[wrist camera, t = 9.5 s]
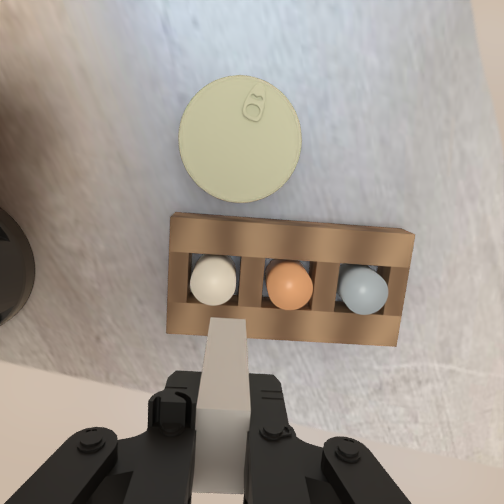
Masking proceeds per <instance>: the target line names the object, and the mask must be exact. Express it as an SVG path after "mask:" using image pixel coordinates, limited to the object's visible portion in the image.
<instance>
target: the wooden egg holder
mask: <svg viewBox="0 0 504 504" xmlns="http://www.w3.org/2000/svg"><path fill="white" fill-rule="evenodd" d="M414 239H415V234H413V233H410V232H408V231H406V230H404V229H400V228H387V227H373V226H359V225H346V224H332V223H318V222H305V221H291V220H277V219H264V218H250V217H237V216H223V215H209V214H196V213H182V212H175V213H174V214H173V215H172V216H171V217H170V240H169V269H168V297H167V325H166V333H167V334H185V335H202V336H208V331H209V325H210V318H211V317H214V318H231V319H245V320H246V337H247V338H254V339H272V340H289V341H307V342H324V343H342V344H359V345H376V346H394V347H396V345H397V339H398V333H399V328H400V322H401V316H402V310H403V304H404V298H405V292H406V286H407V280H408V275H409V269H410V263H411V257H412V251H413V245H414ZM192 253H200V254H214V255H229V256H241V261H240V274H239V288H238V295H232V297H231V298H230V299H229V300H228V301H227V302H225V303H223V304H220V305H215V306H212V305H206V304H204V303H202V302H200V301H199V300H197V299H196V298H195V296H194V295H193V293H192V292H190V280H191V265H192ZM265 258H273V259H288V260H302V261H310V267H309V277H310V278H311V281H312V284H313V292H312V295H311V298H310V299H309V301H308V302H307V303H306V304H305V305H304V306H302V307H301V308H298V309H295V310H284V309H281V308H279V307H277V306H276V305H275V304H273V302H272V301H271V299H270V297H262V288H263V277H264V265H265ZM340 263H347V264H361V265H376V266H378V270H377V274H378V275H380V276H381V277H382V278H383V279H384V280H385V282H386V284H387V286H388V298H387V300H386V302H385V304H384V306H383V307H382V308H381V309H380V310H378V311H377V312H375V313H372V314H369V315H360V314H357V313H354V312H353V311H351V310H350V309H349V308H348V306H347V305H346V304H345V302H342V301H335V298H336V290H337V283H338V275H339V267H340Z"/></svg>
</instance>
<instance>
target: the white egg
mask: <svg viewBox="0 0 504 504" xmlns="http://www.w3.org/2000/svg"><path fill="white" fill-rule="evenodd" d="M190 287H191V291H192V293H193V295H194V296H195V298H196V299H197V300H199V301H200V302H202V303H204V304H206V305H212V306H215V305H220V304H223V303H225V302H227V301H228V300H229V299H230V298H231V297H232V295H233V294H234V292H235V288H236V267H235V264H234V262H233V260H232V259H231V258H230V257H229V256H228V255H214V254H204V255H202V256H201V257H200V258H199V259H198V261H197V263H196V265H195V268H194V271H193V273H192V276H191V280H190Z"/></svg>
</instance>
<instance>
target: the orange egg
mask: <svg viewBox="0 0 504 504" xmlns="http://www.w3.org/2000/svg"><path fill="white" fill-rule="evenodd" d="M265 282H266V286H267V290H268V295H269V297H270V299H271V301H272V302H273V304H275V305H276V306H277V307H279V308H281V309H284V310H295V309H298V308H301V307H302V306H304V305H305V304H306V303H307V302H308V301H309V299H310V298H311V295H312V292H313V284H312V281H311V278H310V277H309V275H308V273H307V272H306V270H305V268H304V267H303V265H302V264H301V263H300V261H298V260H288V259H274V260H272V261H271V262H270V263H269V264H268V266H267V268H266V270H265Z"/></svg>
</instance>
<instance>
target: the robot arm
mask: <svg viewBox="0 0 504 504" xmlns="http://www.w3.org/2000/svg"><path fill="white" fill-rule="evenodd" d="M34 274H35V268H34V259H33V254H32V251H31V248H30V245H29V243H28V241H27V238H26V237H25V235H24V233H23V231H22V230H21V228H20V227H19V226H18V224H17V223H16V222H15V221H14V220H13V219H12V218H11V217H10V216H9V215H8V214H7V213H6V212H5V211H4V210H2V209H1V208H0V326H1V325H2V324H4V323H5V322H6V321H8V320H9V319H11V318H12V317H13V316H14V315H15V314H17V313H18V312H19V310H20V309H21V308H22V307H23V306H24V304H25V303H26V301H27V299H28V297H29V295H30V293H31V290H32V287H33V282H34ZM192 492H197V493H198V492H199V493H224V494H243V493H244V500H243V504H411V502H410V501H409V500H408V499H407V497H406V496H405V495H404V493H403V492H402V491H401V490H400V488H399V487H398V486H397V485H396V483H395V482H394V481H393V479H392V478H391V477H390V476H389V474H388V473H387V472H386V471H385V469H384V468H383V467H382V466H381V464H380V463H379V462H378V460H377V459H376V458H375V457H374V455H373V454H372V453H371V452H370V450H369V449H368V448H367V447H366V446H365V445H363V444H362V443H360V442H359V441H357V440H355V439H352V438H348V437H333V438H330V439H328V440H327V441H326V442H325V443H324V447H323V448H322V447H318V446H315V445H312V444H309V443H306V442H304V441H302V440H300V439H299V438H297V437H296V433H295V431H294V429H293V428H292V427H291V426H290V425H289V423H288V418H287V413H286V408H285V403H284V397H283V393H282V387H281V382H280V381H279V380H278V379H277V378H276V377H275V376H274V375H270V374H251V373H249V372H248V354H247V337H246V320H245V319H231V318H214V317H211V318H210V325H209V331H208V337H207V344H206V350H205V356H204V362H203V369H202V372H194V371H175V372H174V373H173V374H172V375H171V376H169V377H168V379H167V383H166V386H165V389H164V390H163V391H160V392H158V393H156V394H154V395H153V396H152V397H151V398H150V399H149V401H148V428H147V431H146V432H144V433H142V434H140V435H138V436H135V437H131V438H126V439H121V440H117V435H116V434H115V433H114V432H113V431H112V430H110V429H107V428H102V427H93V428H86V429H83V430H81V431H79V432H76V433H75V434H74V435H72V436H71V437H69V438H68V439H67V440H66V441H65V442H64V443H63V444H62V445H61V446H60V447H59V449H57V450H56V452H54V454H53V455H51V456H50V457H49V458H48V460H47V461H46V462H45V463H44V464H43V465H42V466H41V467H40V468H39V469H38V470H37V471H36V472H35V473H34V474H33V475H32V476H31V477H30V478H29V479H28V480H27V481H26V482H25V483H24V484H23V485H22V486H21V487H20V488H19V489H18V490H17V491H16V492H15V493H14V494H13V495H12V496H11V497H10V498H9V499H8V500H7V501H6V502H5V503H4V504H191V495H192Z"/></svg>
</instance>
